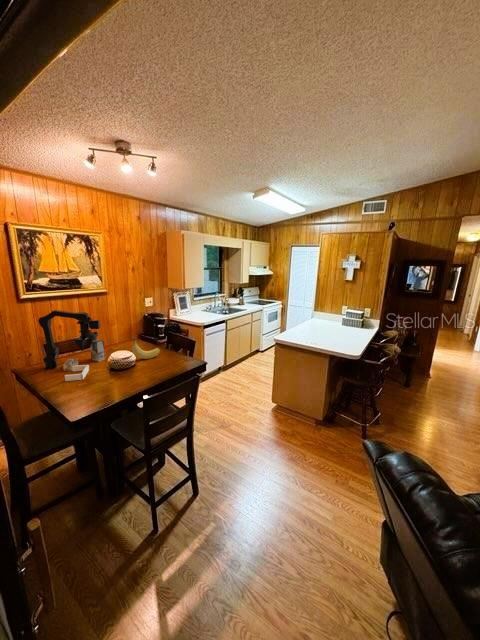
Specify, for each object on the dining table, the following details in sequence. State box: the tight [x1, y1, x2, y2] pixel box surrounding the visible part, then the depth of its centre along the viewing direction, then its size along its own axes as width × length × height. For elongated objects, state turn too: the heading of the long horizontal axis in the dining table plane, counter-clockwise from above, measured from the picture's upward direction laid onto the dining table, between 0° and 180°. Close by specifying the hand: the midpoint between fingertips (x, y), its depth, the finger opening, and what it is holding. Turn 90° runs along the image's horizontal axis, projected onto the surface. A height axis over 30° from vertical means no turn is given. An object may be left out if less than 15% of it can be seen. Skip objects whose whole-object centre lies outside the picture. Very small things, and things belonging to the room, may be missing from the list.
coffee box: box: [89, 338, 106, 362], centre depth 216 cm, size 9×6×16 cm
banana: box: [131, 337, 161, 360], centre depth 221 cm, size 23×6×20 cm, turn 128°
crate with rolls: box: [62, 358, 79, 372], centre depth 201 cm, size 7×12×5 cm, turn 16°
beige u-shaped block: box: [64, 364, 90, 382], centre depth 188 cm, size 11×17×4 cm, turn 16°
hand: (86, 348), depth 203 cm, fingers open, 9 cm apart
